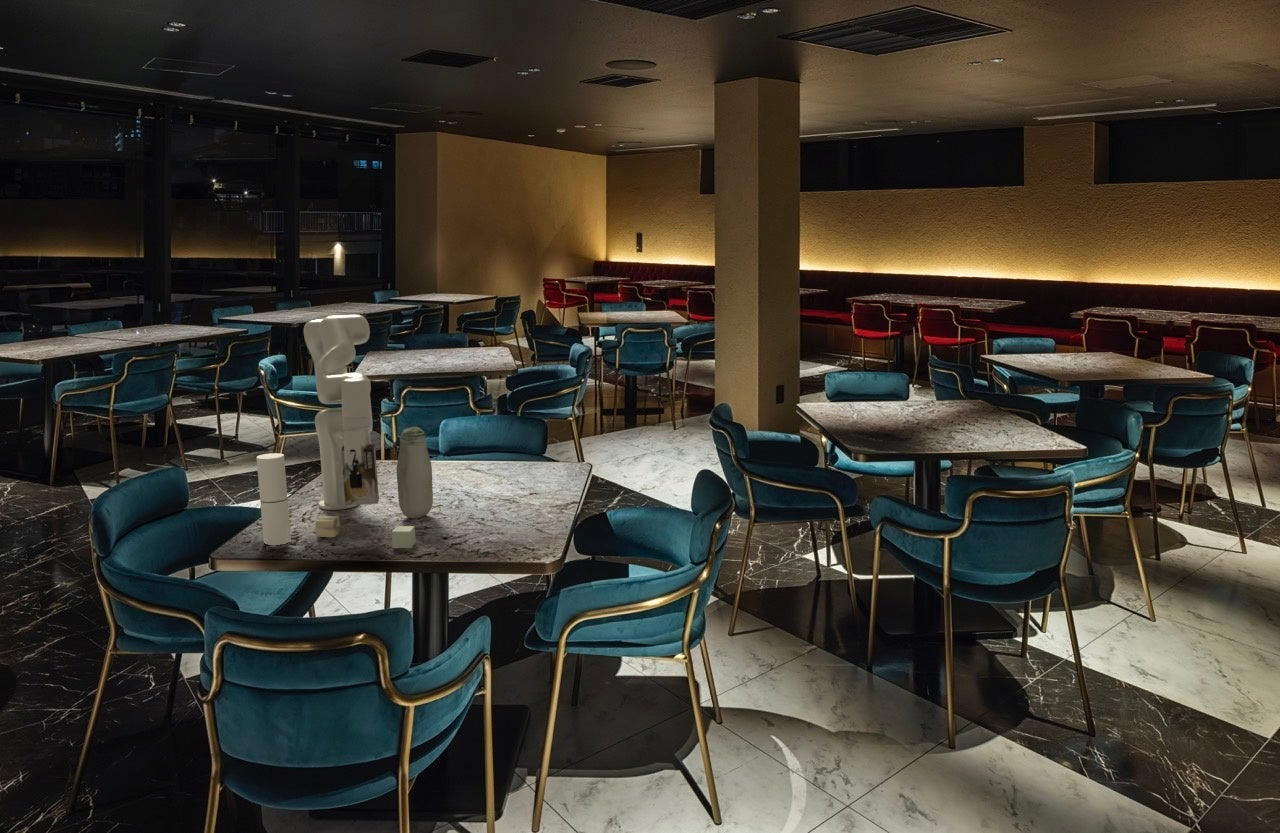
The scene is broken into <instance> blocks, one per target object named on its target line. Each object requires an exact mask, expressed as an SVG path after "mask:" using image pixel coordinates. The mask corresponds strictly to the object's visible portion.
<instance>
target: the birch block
mask: <svg viewBox="0 0 1280 833" xmlns="http://www.w3.org/2000/svg"><path fill="white" fill-rule="evenodd" d="M340 527H341V526H340V516H339V515H338V516H337V515H336V516H335V515H331V516H330V515H327V516H326V515H324V516H322V515H321V516H320V517H319V518H318V519H317V520H315V530H316V532H315V535H316V538H317V537H334V538H336V537H337V536H338V535H339V534H340V533H341V530H340ZM338 533H339V534H338ZM337 534H338V535H337ZM336 535H337V536H336Z"/></svg>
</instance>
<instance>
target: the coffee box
mask: <svg viewBox="0 0 1280 833" xmlns="http://www.w3.org/2000/svg"><path fill="white" fill-rule="evenodd" d="M341 449H342V450H341V459H342V471H343V484H344V496H345V505H346V506H347V505H357V506H358V505H359V506H360V505H375V504H379V502H380V494H379V480H378V479H379V478H378V468H377V455H376V454H377V451H376V444H375V443H371V444H370V445H369V446H368V447H366V448H365V449H364V461H363V463H362V464H361V469H360V474H362V488H351V487H350V474H349V469H348V468H349V467H348V463H347V464H345V462H344V446H342V448H341ZM358 462H359V461H357V460H354V463H358ZM357 467H358V466H356V468H357Z"/></svg>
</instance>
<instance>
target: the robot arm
mask: <svg viewBox="0 0 1280 833" xmlns="http://www.w3.org/2000/svg"><path fill="white" fill-rule="evenodd" d="M370 330H371V329H370V325H369V322H368V320H367V318H366V317H365V316H363V315H362V314H361V315H360V314H347V315H346V314H345V315H344V314H343V315H329V316H327V317H324V318H319V319H314V320H310V321H308V322H306V323H305V324H304V327H303V336H304V342H305V345H306V347H307V349H308V350H309V351H308V352H309V353H310V356H311V359H312V361H313V366H314V379H315V385H316V393H317V394H316V395H317V398H318V400H319V402H320V403H321V404H324V405H338V404H341V407H335V408H334V407H332V408H331V407H330V408H326V409H322V410H320V411H318V412H317V413H316V415H315V418H314V425H315V430H316V435H317V440H318V444H319V445H318V446H319V452H320V454H319V455H320V467H321V468H320V469H321V480H322V495H323V500H321V501H320V502H319V503H318V506H319V508H320V509H322V510H327V511H328V510H329V511H337V510H346V509H351V508H355V507H357V506H358V505H347V506H346V505H345V496H344V484H343V471H342V459H341V450H342V449H341V448H342V446H344V462H345V464H347V463H348V467H349V468H348V469H349V474H350V487H351V488H362V474H360V469H361V464H362V463H363V461H364V449H365V448H366V447H368V446H369V445H370V444H372V440H371V439H372V438H371V432H372V431H373V427H374V426H373V425H374V424H373V413H372V403H371V401H372V400H371V391H372V390H371V389H372V386H371V380H370V379H369V378H368V376H367V375H366V374H364V373H361V372H344V367H346V366H348V365H349V364H351V363H352V362H354V360H355V357H356V354H357V353H356V348H355V345H357V346H358V345H362V344H365V343H367V342H368V341H369V339H370V334H371V331H370ZM354 460H357V461H359V462H358V463H354ZM356 466H358V467H357V468H356Z"/></svg>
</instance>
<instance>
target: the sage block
mask: <svg viewBox="0 0 1280 833" xmlns="http://www.w3.org/2000/svg"><path fill="white" fill-rule="evenodd" d="M415 528H416V527H415V525H402V526H401V525H397V526H395V528H393V530H392V531H391V541H392V544H391V545H392V549H393V548H411V547H412V546H413V545H414V546H415V545H416V541H417V540H416V530H415ZM414 546H413V547H414ZM413 547H412V548H413ZM412 548H411V549H412Z"/></svg>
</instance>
